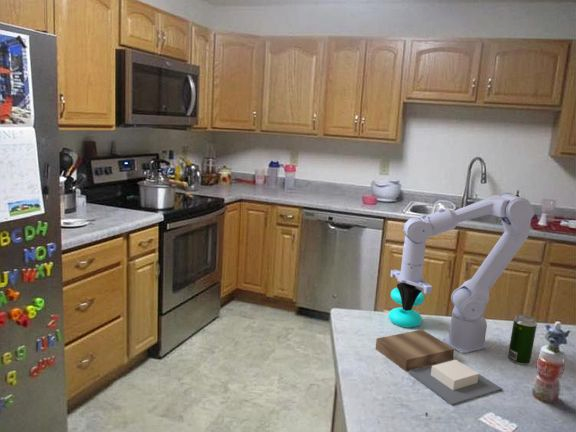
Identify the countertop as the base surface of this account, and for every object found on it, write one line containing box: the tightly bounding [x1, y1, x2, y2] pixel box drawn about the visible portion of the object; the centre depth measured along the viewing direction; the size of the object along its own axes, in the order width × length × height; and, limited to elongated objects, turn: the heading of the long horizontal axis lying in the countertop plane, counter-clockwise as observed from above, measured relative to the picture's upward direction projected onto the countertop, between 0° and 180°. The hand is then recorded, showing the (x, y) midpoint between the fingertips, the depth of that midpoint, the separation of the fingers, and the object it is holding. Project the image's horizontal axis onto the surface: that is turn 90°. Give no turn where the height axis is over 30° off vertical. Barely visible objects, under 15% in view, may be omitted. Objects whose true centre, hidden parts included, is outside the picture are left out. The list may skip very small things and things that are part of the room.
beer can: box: [507, 314, 538, 366], centre depth 120 cm, size 5×5×12 cm
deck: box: [375, 329, 455, 372], centre depth 121 cm, size 16×12×3 cm
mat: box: [408, 365, 503, 406], centre depth 109 cm, size 16×14×1 cm
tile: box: [431, 359, 479, 390], centre depth 110 cm, size 8×7×2 cm
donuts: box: [388, 287, 425, 328], centre depth 141 cm, size 10×10×10 cm
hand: (407, 309), depth 127 cm, fingers closed
